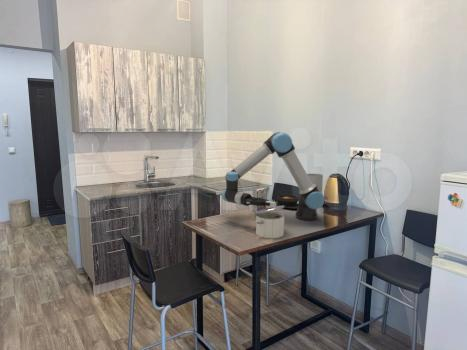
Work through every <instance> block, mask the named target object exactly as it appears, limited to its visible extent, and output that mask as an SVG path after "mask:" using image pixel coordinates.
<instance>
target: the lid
mask: <svg viewBox="0 0 467 350" xmlns="http://www.w3.org/2000/svg"><path fill="white" fill-rule="evenodd" d="M283 209H286V208H285V207H284V206H277V205H276V208H274V207H268V208H267V209H263V210H259V211H255V212H254V211H253V212H254V215H255V214H261V213H266V212H275V211H278V210H283Z"/></svg>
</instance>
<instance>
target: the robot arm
mask: <svg viewBox="0 0 467 350" xmlns="http://www.w3.org/2000/svg"><path fill="white" fill-rule="evenodd" d="M295 150H296V147H295V145H294V144H293V139H292V138H291V136H290V135H289V134H288V133H285V132H280V131H278V132H274V133H273V134H271V136H270V137H268V138H267V139H266V140H265V141H264V142H263V143H262V145H261V146H260V147H258V149H256V150H255V151H254V152H252V153H251V154H250V155H249V156H248V157H247V158H245V159H244V160H243V161H242V162H240V163H239V164H238V165H237V166H236V167H234V168H233V169H231V171H227V172H226V174H225V184H226V186H225V189H224V190H223V193H222V194H221V196H222V200H223V201H224V202H227V203H233V204H237V205H239V206H241V205H242V206H244V207H245V206H246V207H248V206H253V205H256V206H263V207H265V205H266V206H267V207H268V208H271V207H274V208H276V206H277V205H276V203H275V202H276V201H271V200H270V201H269V199H267V200H266V199H263V198H260V197H258V198H255V197H253V195H251V194H250V193H247V192H242V191H239V180H240V179H241V178H242V177H243V176H244V175H246V174H247V173H248V172H249V171H251V170H252V169H253V168H254V167H256V166H257V165H258V164H260V163H261V162H262V161H263V160H264V159H266V158H267V157H268V156H270V155H274V154H275V153H276V155H277V157H278V158H280V159H282V160H283V162H284V164H285V166H286V168H287V169H288V171H289V173H290V174H291V176H292V178H293V179H294V182H295V183H296V185H297V187H298V199H299V200H298V203H297V204H298V208H297V209H296V212H295V218H296V219H298V220H302V221H316V220H318V218H319V214H318V211H317V209H320V208H322V207H323V205H324V202H325V195H324V194H323V192H322V193H321V192H320V191H319V190H318V188H317V186H316V184H313V183H312V182H311V180H310V179H309V177H308V175H307V174H308V173H307V172H306V170H305V167H304V166H303V165H302V163H301V161H300V160H299V158H298V155H297V154H296V151H295Z"/></svg>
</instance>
